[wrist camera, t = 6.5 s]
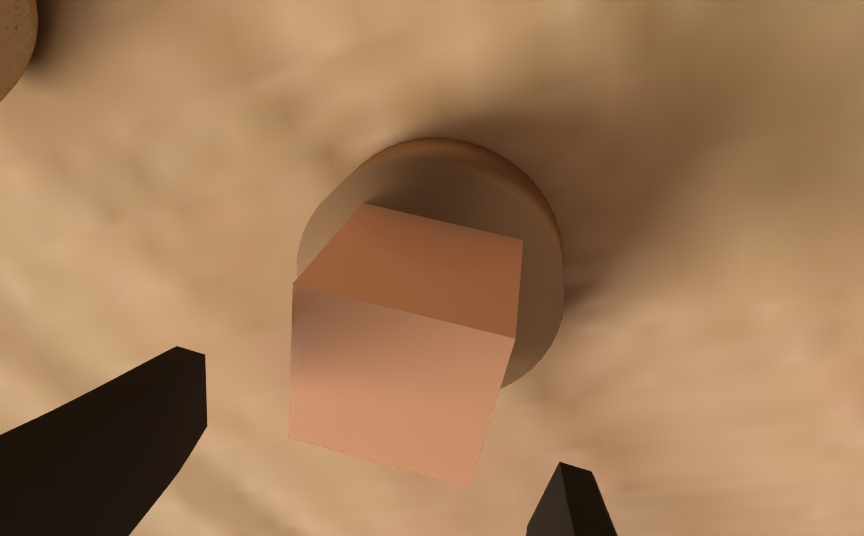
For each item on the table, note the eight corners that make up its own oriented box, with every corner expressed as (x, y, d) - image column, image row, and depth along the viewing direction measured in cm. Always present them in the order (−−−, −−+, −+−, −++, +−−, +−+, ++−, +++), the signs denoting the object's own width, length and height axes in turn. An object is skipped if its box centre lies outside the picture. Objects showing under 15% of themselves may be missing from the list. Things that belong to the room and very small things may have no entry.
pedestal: (597, 172, 15) (608, 208, 13) (521, 368, 19) (518, 427, 17) (345, 107, 16) (307, 129, 13) (323, 311, 20) (289, 359, 17)
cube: (523, 239, 14) (515, 338, 10) (487, 366, 16) (468, 488, 12) (362, 202, 14) (292, 283, 10) (349, 331, 16) (288, 438, 12)
